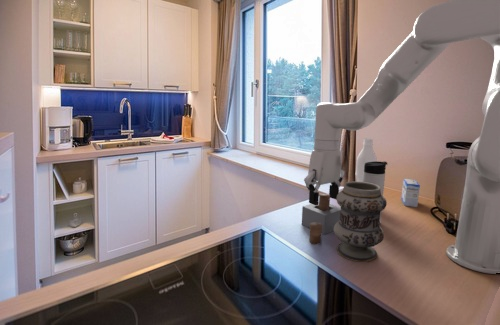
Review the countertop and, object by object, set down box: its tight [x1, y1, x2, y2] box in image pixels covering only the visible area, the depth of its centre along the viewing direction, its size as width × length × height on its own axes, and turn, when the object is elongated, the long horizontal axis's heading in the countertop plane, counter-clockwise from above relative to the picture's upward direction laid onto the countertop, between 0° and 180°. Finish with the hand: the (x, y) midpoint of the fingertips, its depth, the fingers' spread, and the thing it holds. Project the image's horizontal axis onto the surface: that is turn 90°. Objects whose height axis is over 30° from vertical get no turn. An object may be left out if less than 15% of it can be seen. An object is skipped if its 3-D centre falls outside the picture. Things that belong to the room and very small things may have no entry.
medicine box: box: [400, 178, 421, 208], centre depth 114 cm, size 8×4×9 cm, turn 162°
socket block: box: [301, 201, 341, 235], centre depth 93 cm, size 9×9×6 cm
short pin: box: [308, 223, 322, 245], centre depth 83 cm, size 3×3×5 cm
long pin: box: [318, 193, 331, 211], centre depth 93 cm, size 3×3×10 cm
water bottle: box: [354, 137, 378, 182], centre depth 112 cm, size 7×7×25 cm
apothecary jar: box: [333, 181, 388, 263], centre depth 76 cm, size 12×12×18 cm
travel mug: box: [363, 160, 388, 221], centre depth 95 cm, size 6×7×20 cm
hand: (323, 201), depth 92 cm, fingers open, 8 cm apart
